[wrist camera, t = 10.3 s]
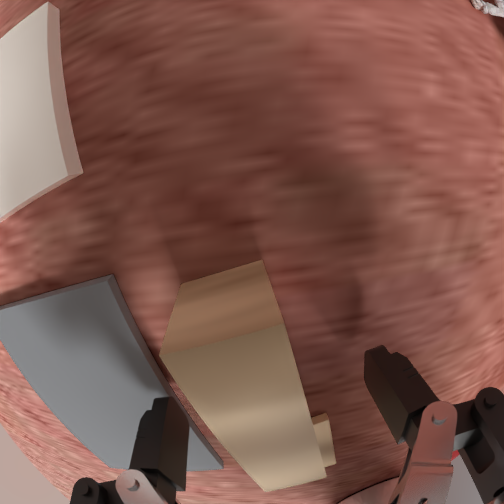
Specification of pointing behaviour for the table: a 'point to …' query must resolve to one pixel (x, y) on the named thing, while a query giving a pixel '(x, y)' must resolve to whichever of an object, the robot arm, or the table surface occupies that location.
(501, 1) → the figurine
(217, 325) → the beige wooden bar
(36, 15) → the tile
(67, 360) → the mat
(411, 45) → the table surface
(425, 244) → the table surface
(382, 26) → the table surface
